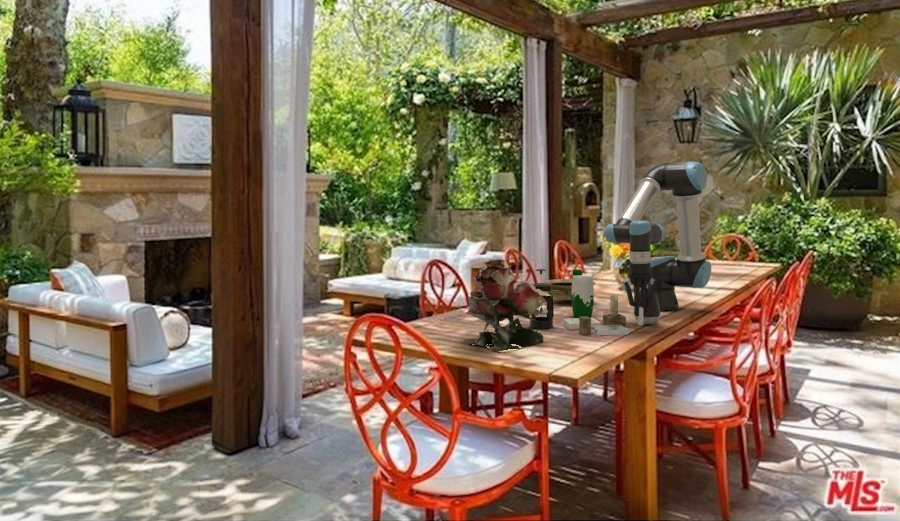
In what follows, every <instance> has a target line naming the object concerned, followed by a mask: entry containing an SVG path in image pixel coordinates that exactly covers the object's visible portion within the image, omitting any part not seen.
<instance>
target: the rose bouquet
mask: <svg viewBox="0 0 900 521" xmlns="http://www.w3.org/2000/svg"><path fill="white" fill-rule="evenodd" d="M483 266H484V267H482V268H481V269H479V270H478V271H479V275H474V277H473V279H474V280H473V283H476V284H475V285H476V286H475V287H476V288H475V289H474V290H473V291H471V293H470V296H468V298H467V302H468V310H467V311H466V312H465V313H466V314H467V315H470V316H472V317H474V318H477V319H479V320H482V321H483V322H485V323H486V324H485V326H484V329H483V331H481V332H478V334H479V337H478V340H477V339H476V340H477V341H476V342H471V344H477V345H476V346H480V347H483V346H486V345H487V344H488V345H487V346H489V344H494V345H493V346H490V348H487V349H489V350H492V351H494V352H497V351H503V350H508V349H519V350H521V349H520V348H519V347H518V346H512V345H511V344H516V345H519V346H521V347H524V348H523V349H525V347H526V348H527V347H528V346H532V345H537V344H539V343H540V342H544V340H545V339H544V336H543V334H542V333H541V332H539V329H536V330H535V329H532V328H530V327H527V326H526V327H523V325H522V324H521V320H520V318H519V316H520V317H522V318H525V319H528V320H529V321H530V320H535V319H532V317H530V316H532V315H534V316H536V317H538V315H540V314H539V313H540V310H539V309H540V308H541V305H543V304H546V303H547V302H546V300H545V298H544V297H543V296H540V295H541V290H538V289H536V288H535V286H534V285H533V284H534V283H533V282H530V281H527V280H523V279H522V280H519V281H517V282H516V279H518V278H517V277H518V276H517V274H514V273H513V271H512V267H511V266H510V265H509V263H508V262H506V260H505V259H502V258H497V259H494V258H493V259H492V258H489V259H488V260H487V261H485V262H483ZM536 309H538V310H536ZM514 316H518V317H516V318H515V319H514ZM506 319H507V320H508V323H507V324H506V325H504V326H501V324H500V322H503V321H505V320H506ZM536 321H537V320H536ZM488 326H492V328H493V329H494V331H489V330H487V329H488Z"/></svg>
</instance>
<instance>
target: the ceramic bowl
mask: <svg viewBox="0 0 900 521" xmlns="http://www.w3.org/2000/svg"><path fill="white" fill-rule="evenodd" d="M543 283H547V284H552V285H553V286H551V291H546V293H547V294H548V296H553V299H554V298H555V299H556V300H561V301H560V303H561V304H563V305H564V304H566V305H572V278H565V279H564V278H563V279H562V278H558V279H547V280H544V282H543ZM595 285H596V281H594V280H593V286H595Z"/></svg>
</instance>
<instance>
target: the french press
mask: <svg viewBox="0 0 900 521" xmlns="http://www.w3.org/2000/svg"><path fill="white" fill-rule="evenodd" d="M535 271H536V272H539V275H543V272H545V271H547V269H544V268H537V269H535ZM542 280H543V279H542V277H540V282H538V283H537V282H536V283H533V285H534V286H535V288H536V290H538V291H540V296H543V297H544V298H545V300H546V302H545V303H546V309H545V308H543V307H542V305H543V304H542V305H541V306H540V307H539V308H538V309H539V310H540V313H539V314H538V315H546V316H534V315H531V318H532V319H535V320H530V319H529V325H528V326H529V327H528V328H530V329H532V328H533V330H551V329H553V328H554V297H553V296H550V295H547V294H546V295H542V294H543V293H542V292H546V293H547V291H551V286H553V285H552V284H547V283H544V282H543V281H542ZM538 309H536V310H538ZM536 320H537V321H536Z"/></svg>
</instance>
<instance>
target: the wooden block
mask: <svg viewBox="0 0 900 521" xmlns="http://www.w3.org/2000/svg"><path fill="white" fill-rule="evenodd" d="M591 318H592V317H591ZM591 318H589V317H588V316H581V317H579V330H578V332H579V333H580V334H581V335H583V336H588V335H589V336H590V335H592V332H591Z"/></svg>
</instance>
